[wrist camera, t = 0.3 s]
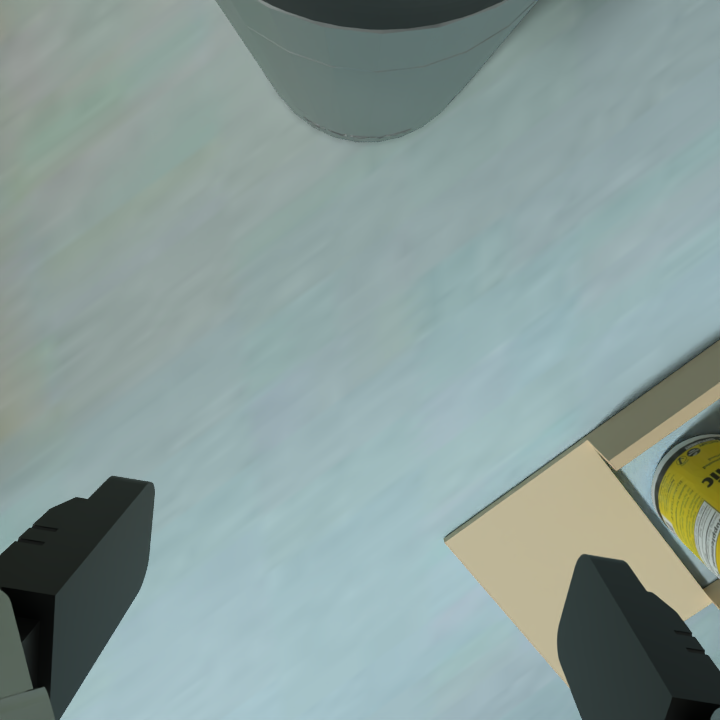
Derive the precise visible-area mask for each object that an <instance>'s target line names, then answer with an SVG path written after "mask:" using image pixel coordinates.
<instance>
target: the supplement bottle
mask: <svg viewBox="0 0 720 720" xmlns="http://www.w3.org/2000/svg"><path fill="white" fill-rule="evenodd" d="M651 496H652V502H653V505H654V508H655V510H656V512H657V514H658V516H659V517H660V519H661V520H662V521H663V522H664V524H665V525H666V526H667V527H668V528H669V529H670V530H671V531H672V532H673V533H674V534H675V535H676V536H677V537H678V538H679V539H680V540H681V541H682V542H683V543H684V544H685V545H686V546H687V547H688V548H689V549H690V550H691V551H692V552H693V553H694V554H695V555H696V556H697V557H698V558H699V559H700V560H701V561H702V562H703V563H704V564H705V565H706V566H707V567H708V568H709V569H710V570H711V571H712V572H713V573H714V574H715V575H716V576H717V577H718V578H719V579H720V435H718V434H708V435H700V436H696V437H693V438H690V439H687V440H685V441H683V442H681V443H680V444H678V445H676V446H675V447H673V448H672V449H671V450H670V451H669V452H668V453H667V454H666V455H665V456H664V457H663V458H662V460H661V461H660V463H659V464H658V466H657V468H656V471H655V473H654V476H653V480H652V485H651Z"/></svg>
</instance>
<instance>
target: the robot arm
mask: <svg viewBox="0 0 720 720" xmlns="http://www.w3.org/2000/svg"><path fill="white" fill-rule="evenodd" d="M215 1H216V2H217V4H218V5H219V6H220V8H221V9H222V11H223V12H224V14H225V15H226V17H227V18H228V20H229V21H230V23H231V24H232V26H233V27H234V29H235V30H236V32H237V33H238V35H239V36H240V38H241V39H242V41H243V42H244V44H245V45H246V47H247V48H248V50H249V51H250V53H251V54H252V56H253V57H254V59H255V60H256V62H257V63H258V65H259V66H260V68H261V69H262V71H263V72H264V74H265V75H266V77H267V78H268V80H269V81H270V83H271V84H272V86H273V87H274V89H275V90H276V92H277V93H278V94H279V96H280V97H281V98H282V99H283V100H284V101H285V103H286V104H287V105H288V106H289V107H290V108H291V110H292V111H293V112H294V113H295V114H296V115H298V116H299V117H300V118H302V119H303V120H304V121H306V122H307V123H308V124H310V125H311V126H312V127H314V128H316V129H318V130H320V131H322V132H324V133H327V134H329V135H331V136H333V137H336V138H341V139H345V140H350V141H354V142H381V141H385V140H390V139H394V138H399V137H402V136H404V135H406V134H408V133H410V132H413V131H415V130H417V129H419V128H421V127H423V126H424V125H425V124H427V123H428V122H429V121H431V120H432V119H433V118H434V117H436V116H437V115H438V114H440V113H441V112H442V111H443V109H444V108H445V107H446V106H447V105H448V104H449V103H450V102H451V100H452V99H453V98H454V97H455V96H456V95H457V94H458V93H459V92H460V91H461V90H462V89H463V88H464V86H465V85H466V84H467V83H468V82H469V81H470V79H471V78H472V77H473V76H474V75H475V74H476V72H477V71H478V70H479V69H480V68H481V67H482V65H483V64H484V63H485V62H486V61H487V59H488V58H489V57H490V56H491V55H492V54H493V52H494V51H495V50H496V49H497V48H498V47H499V45H500V44H501V43H502V42H503V41H504V40H505V38H506V37H507V36H508V35H509V34H510V33H511V31H512V30H513V29H514V28H515V27H516V25H517V24H518V23H519V22H520V21H521V20H522V18H523V17H524V16H525V15H526V14H527V13H528V11H529V10H530V9H531V8H532V7H533V6H534V4H535V3H536V2H537V1H538V0H215ZM154 497H155V489H154V484H153V483H152V482H148V481H141V480H135V479H129V478H123V477H117V476H111V477H109V478H108V479H107V480H106V481H105V482H104V483H103V484H102V485H101V486H100V487H99V488H98V489H97V490H96V491H95V492H94V493H93V494H92V495H91V496H90V497H89V498H88V499H84V498H78V497H75V498H73V499H71V500H69V501H66V502H64V503H62V504H60V505H57V506H55V507H53V508H51V509H49V510H48V511H47V512H46V513H45V514H44V515H43V516H42V517H41V518H40V519H38V520H37V521H36V522H35V523H34V524H33V527H32V528H29V529H28V530H27V531H26V532H24V533H23V534H22V535H21V536H20V537H19V539H18V542H17V541H15V542H14V543H13V544H11V545H10V546H9V547H8V548H7V549H6V550H5V551H4V552H3V553H2V554H1V555H0V720H60V718H61V717H62V715H63V713H64V712H65V710H66V708H67V707H68V705H69V704H70V702H71V700H72V699H73V697H74V696H75V694H76V692H77V691H78V689H79V687H80V686H81V684H82V683H83V681H84V679H85V678H86V676H87V675H88V673H89V671H90V670H91V668H92V667H93V665H94V663H95V662H96V660H97V658H98V657H99V655H100V654H101V652H102V650H103V649H104V647H105V646H106V644H107V642H108V641H109V639H110V637H111V636H112V634H113V633H114V631H115V629H116V628H117V626H118V625H119V623H120V621H121V620H122V618H123V617H124V615H125V613H126V612H127V610H128V608H129V607H130V605H131V604H132V602H133V600H134V599H135V597H136V596H137V594H138V592H139V590H140V588H141V586H142V583H143V580H144V577H145V574H146V570H147V566H148V561H149V552H150V541H151V530H152V519H153V508H154ZM557 652H558V658H559V662H560V664H561V667H562V670H563V672H564V675H565V677H566V680H567V682H568V685H569V687H570V690H571V693H572V695H573V698H574V700H575V703H576V705H577V708H578V710H579V713H580V716H581V718H582V720H720V671H719V669H718V668H717V667H716V665H715V664H714V663H713V661H712V660H711V658H710V657H709V656H708V655H705V650H704V649H703V647H702V646H701V645H700V643H699V642H698V641H697V639H696V638H695V637H692V632H691V631H690V630H689V628H688V627H687V625H686V624H685V623H684V621H683V620H682V618H681V617H680V616H679V614H678V613H677V612H676V611H675V610H674V609H672V608H671V607H670V606H669V605H668V604H666V603H665V602H664V601H663V600H661V599H660V598H659V597H658V596H657V595H655V594H654V593H653V592H648V591H646V589H645V588H644V586H643V585H642V584H641V582H640V581H639V579H638V578H637V576H636V575H635V573H634V572H633V570H632V569H631V568H630V566H629V565H628V563H627V562H625V561H624V560H619V559H613V558H606V557H600V556H594V555H588V554H582V555H581V556H580V557H579V558H578V560H577V562H576V565H575V568H574V572H573V575H572V579H571V582H570V586H569V590H568V593H567V597H566V600H565V604H564V608H563V611H562V615H561V618H560V622H559V626H558V632H557Z"/></svg>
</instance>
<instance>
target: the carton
mask: <svg viewBox="0 0 720 720" xmlns="http://www.w3.org/2000/svg"><path fill="white" fill-rule="evenodd" d="M718 399H720V340H719V341H717V342H716V343H714V344H713V345H712V346H710V347H709V348H707V349H706V350H705V351H703V352H702V353H701V354H699V355H698V356H696V357H695V358H694V359H692V360H691V361H689V362H688V363H687V364H685V365H684V366H683V367H681V368H680V369H678V370H677V371H676V372H674V373H673V374H671V375H670V376H669V377H667V378H666V379H664V380H663V381H662V382H660V383H659V384H658V385H656V386H655V387H653V388H652V389H651V390H649V391H648V392H646V393H645V394H644V395H642V396H641V397H639V398H638V399H637V400H635V401H634V402H633V403H631V404H630V405H628V406H627V407H626V408H624V409H623V410H621V411H620V412H619V413H617V414H616V415H615V416H613V417H612V418H610V419H609V420H608V421H606V422H605V423H603V424H602V425H601V426H599V427H598V428H596V429H595V430H594V431H592V432H591V433H590V434H588V435H587V436H585V437H584V438H583V439H581V440H580V441H578V442H577V443H576V444H574V445H573V446H571V447H570V448H569V449H567V450H566V451H565V452H563V453H562V454H560V455H559V456H558V457H556V458H555V459H553V460H552V461H551V462H549V463H548V464H546V465H545V466H544V467H542V468H541V469H540V470H538V471H537V472H535V473H534V474H533V475H531V476H530V477H528V478H527V479H526V480H524V481H523V482H522V483H520V484H519V485H517V486H516V487H515V488H513V489H512V490H510V491H509V492H508V493H506V494H505V495H503V496H502V497H501V498H499V499H498V500H497V501H495V502H494V503H492V504H491V505H490V506H488V507H487V508H485V509H484V510H483V511H481V512H480V513H478V514H477V515H476V516H474V517H473V518H472V519H470V520H469V521H467V522H466V523H465V524H463V525H462V526H460V527H459V528H458V529H456V530H455V531H454V532H452V533H451V534H449V535H448V536H447V537H445V538H444V542H445V544H446V545H447V546H448V547H449V548H450V550H451V551H452V552H453V553H454V554H455V555H456V557H457V558H458V559H459V560H460V561H461V562H462V564H463V565H464V566H465V567H466V568H467V569H468V570H469V572H470V573H471V574H472V575H473V576H474V577H475V579H476V580H477V581H478V582H479V583H480V584H481V586H482V587H483V588H484V589H485V590H486V591H487V593H488V594H489V595H490V596H491V597H492V598H493V600H494V601H495V602H496V603H497V604H498V605H499V607H500V608H501V609H502V610H503V611H504V612H505V614H506V615H507V616H508V617H509V618H510V619H511V620H512V622H513V623H514V624H515V625H516V626H517V627H518V629H519V630H520V631H521V632H522V633H523V634H524V636H525V637H526V638H527V639H528V640H529V641H530V643H531V644H532V645H533V646H534V647H535V648H536V650H537V651H538V652H539V653H540V654H541V655H542V657H543V658H544V659H545V660H546V661H547V662H548V663H549V665H550V666H551V667H552V668H553V669H554V670H555V672H556V673H557V674H558V675H559V676H560V677H561V679H562V680H563V681H564V682H565V683H566V684H567V686H568V687H569V685H568V682H567V680H566V677H565V675H564V672H563V670H562V667H561V664H560V662H559V658H558V652H557V632H558V626H559V622H560V618H561V615H562V611H563V608H564V604H565V600H566V597H567V593H568V590H569V586H570V582H571V579H572V575H573V572H574V568H575V565H576V562H577V560H578V558H579V557H580V556H581V555H582V554H588V555H594V556H600V557H606V558H613V559H619V560H624V561H625V562H627V563H628V565H629V566H630V568H631V569H632V570H633V572H634V573H635V575H636V576H637V578H638V579H639V581H640V582H641V584H642V585H643V586H644V588H645V589H646V591H648V592H653V593H654V594H655V595H657V596H658V597H659V598H660V599H661V600H663V601H664V602H665V603H666V604H668V605H669V606H670V607H671V608H672V609H674V610H675V611H676V612H677V613H678V614H679V616H680V617H681V618H682V620H683V621H685V620H687V619H688V618H690V617H691V616H693V615H694V614H696V613H697V612H699V611H701V610H702V609H704V608H705V607H707V606H708V605H710V604H711V603H714V604H715V605H716V607H717V608H718V609H719V610H720V579H718V580H716V581H715V582H713V583H712V584H710V585H709V586H707V587H706V588H704V589H702V588H701V587H700V585H699V584H698V583H697V581H696V580H695V579H694V577H693V576H692V575H691V574H690V572H689V571H688V570H687V568H686V567H685V566H684V564H683V563H682V562H681V561H680V559H679V558H678V557H677V555H676V554H675V553H674V551H673V550H672V549H671V548H670V546H669V545H668V544H667V542H666V541H665V540H664V539H663V537H662V536H661V535H660V533H659V532H658V531H657V529H656V528H655V527H654V526H653V524H652V523H651V522H650V520H649V519H648V518H647V516H646V515H645V514H644V513H643V511H642V510H641V509H640V507H639V506H638V505H637V503H636V502H635V501H634V500H633V498H632V497H631V496H630V494H629V493H628V492H627V491H626V489H625V488H624V487H623V485H622V484H621V483H620V481H619V480H618V479H617V478H616V476H615V475H614V474H613V472H612V471H611V470H610V468H609V467H608V466H607V465H606V463H605V462H604V461H603V459H602V458H601V457H600V455H601V456H602V457H603V458H604V459H605V460H606V461H607V462H608V463H609V464H610V465H611V466H612V467H613V468H614V469H615V470H616V471H617V470H619V469H620V468H622V467H623V466H624V465H626V464H627V463H629V462H630V461H632V460H633V459H634V458H636V457H637V456H639V455H640V454H642V453H643V452H644V451H646V450H647V449H649V448H650V447H651V446H653V445H654V444H656V443H657V442H659V441H660V440H661V439H663V438H664V437H666V436H667V435H668V434H670V433H671V432H673V431H674V430H676V429H677V428H678V427H680V426H681V425H683V424H684V423H685V422H687V421H688V420H690V419H691V418H693V417H694V416H695V415H697V414H698V413H700V412H701V411H702V410H704V409H705V408H707V407H708V406H710V405H711V404H712V403H714V402H715V401H717V400H718ZM596 451H597V452H598V453H599V454H600V455H599V454H598V453H597V452H596ZM569 688H570V687H569Z"/></svg>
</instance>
